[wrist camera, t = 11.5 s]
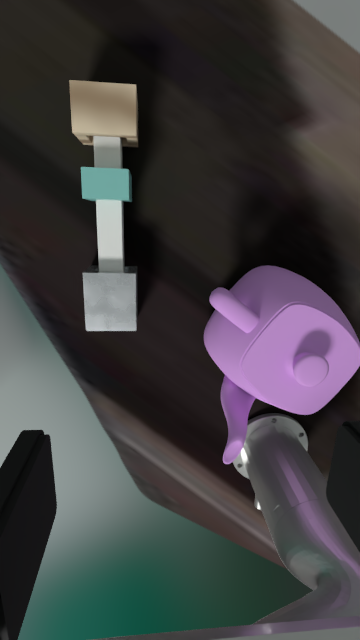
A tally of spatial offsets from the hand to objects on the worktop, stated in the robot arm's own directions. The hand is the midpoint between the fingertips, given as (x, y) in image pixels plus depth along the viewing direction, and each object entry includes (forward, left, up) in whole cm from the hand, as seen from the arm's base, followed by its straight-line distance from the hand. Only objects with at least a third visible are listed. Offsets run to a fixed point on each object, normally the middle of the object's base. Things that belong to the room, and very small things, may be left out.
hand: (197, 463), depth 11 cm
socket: (+18, +6, -36) cm, 41 cm away
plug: (+9, +6, -36) cm, 38 cm away
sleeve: (-2, +6, -36) cm, 37 cm away
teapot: (-8, -15, -37) cm, 40 cm away
